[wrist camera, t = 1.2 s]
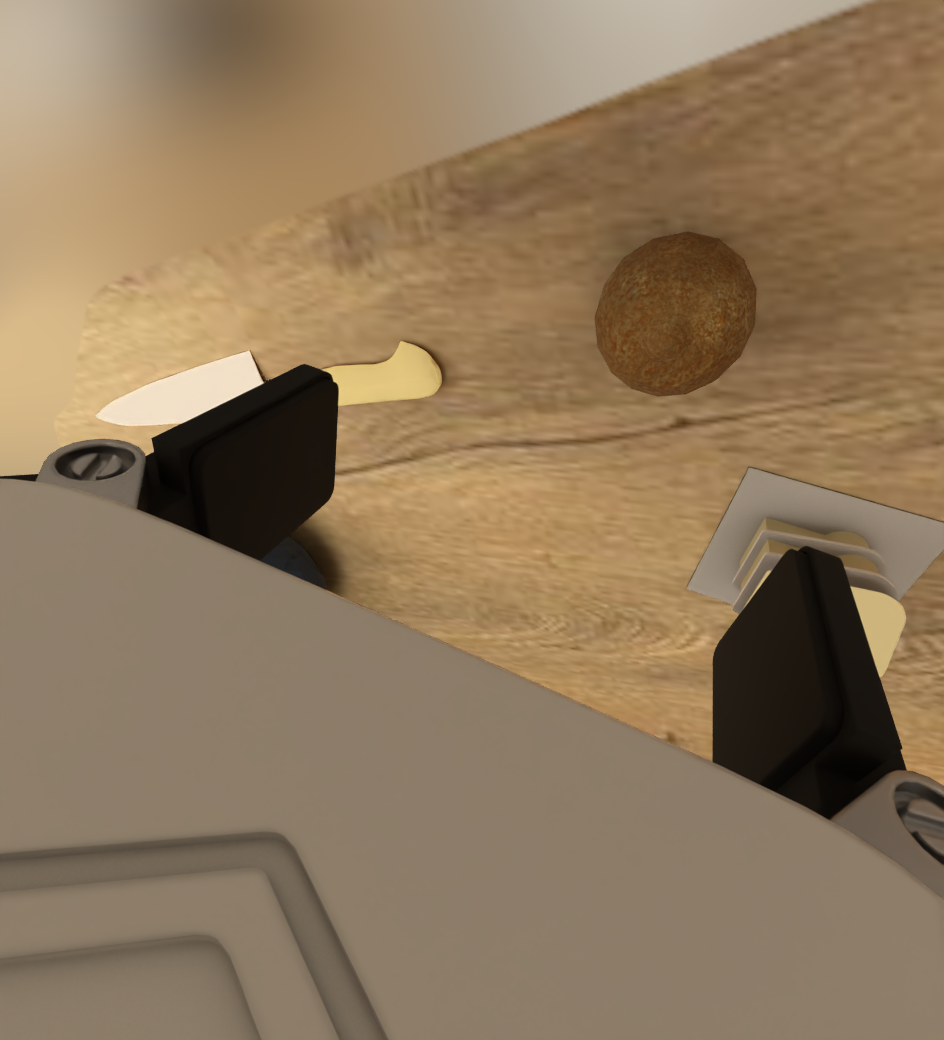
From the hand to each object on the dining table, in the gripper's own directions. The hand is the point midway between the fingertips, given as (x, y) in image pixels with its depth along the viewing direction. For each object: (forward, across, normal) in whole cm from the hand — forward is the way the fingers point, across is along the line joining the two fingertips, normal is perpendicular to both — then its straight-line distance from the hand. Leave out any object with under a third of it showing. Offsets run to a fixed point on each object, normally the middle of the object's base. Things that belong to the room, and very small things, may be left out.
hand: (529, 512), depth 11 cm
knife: (+20, +24, +13) cm, 34 cm away
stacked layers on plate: (+20, -14, +10) cm, 26 cm away
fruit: (+20, -2, -1) cm, 20 cm away
